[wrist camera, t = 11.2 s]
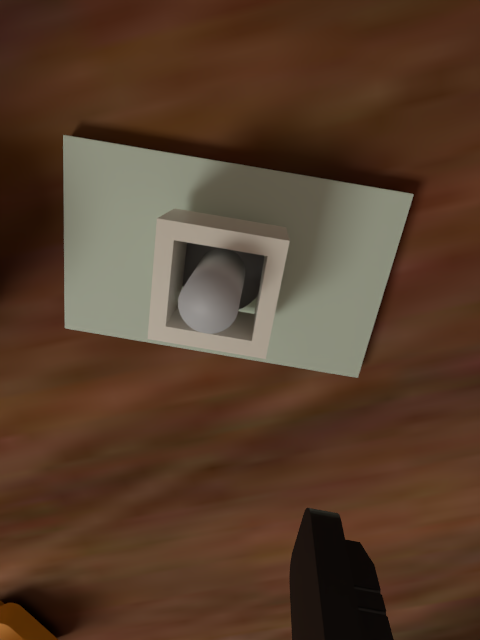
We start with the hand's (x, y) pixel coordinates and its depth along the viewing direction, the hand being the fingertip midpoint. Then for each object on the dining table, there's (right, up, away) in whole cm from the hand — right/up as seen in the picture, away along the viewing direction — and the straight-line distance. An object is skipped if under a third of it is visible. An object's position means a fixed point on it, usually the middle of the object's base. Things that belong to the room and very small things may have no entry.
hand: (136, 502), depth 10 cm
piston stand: (+2, +8, +16) cm, 18 cm away
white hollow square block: (+1, +7, +15) cm, 16 cm away
